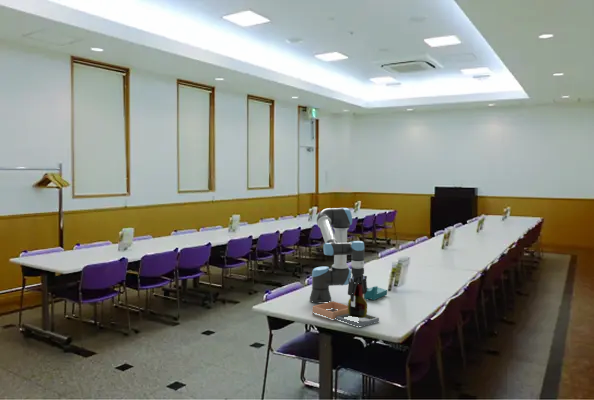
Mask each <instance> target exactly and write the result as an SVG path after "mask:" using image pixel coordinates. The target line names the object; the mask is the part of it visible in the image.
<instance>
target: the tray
mask: <svg viewBox="0 0 594 400" xmlns="http://www.w3.org/2000/svg"><path fill="white" fill-rule="evenodd" d="M348 316H350V315H349V313H347V314H344V315H340V316H336V319H338V320H341V321H344V322H347V323H349V324H352V325H355V326H358V327H359V326H363V327H365V326H364V325H367V326H369V325H368V324H370V325H372V324H371V323H373V324H375V323H374V322H377V323H379V322H380V317H378V316H375V315H373V314H372V315H371V314H368V313H367V314H366V317H364V318H359V321H358V322H359V323H357V322H354V321H350V320H347V319H344V317H348ZM378 321H379V322H378Z"/></svg>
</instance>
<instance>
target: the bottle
mask: <svg viewBox="0 0 594 400" xmlns="http://www.w3.org/2000/svg"><path fill="white" fill-rule="evenodd" d="M354 296H355V307H352V306H351V301H350V298H349V299H348V302H347V306H348V313H349V315H350V316H352V317H358V318H364V317H366V314H368V303H367V300H366V299H364V298H363V294H362V284H359V283H358V285H357V286H356V290H355V294H354Z"/></svg>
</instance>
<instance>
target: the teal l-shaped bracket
mask: <svg viewBox="0 0 594 400" xmlns="http://www.w3.org/2000/svg"><path fill="white" fill-rule="evenodd" d="M387 295H388V289H385V288H380V287H378V285H374V286H372V287H369V288H368V287H367V292H366V294H365V298H364V299H365V300H366V299H368V300H373V301H376V300H377V299H379V298H383V297H385V296H387Z"/></svg>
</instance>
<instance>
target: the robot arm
mask: <svg viewBox="0 0 594 400" xmlns="http://www.w3.org/2000/svg"><path fill="white" fill-rule="evenodd" d="M316 223H317V227H318V228H320V232H321V234H322V235H321V236H322V237H323V241H324V244H323V248H322V249H323V254H324V255H325V256H333V264H332V265H331V268H330V267H329V266H323V265H322V266H318V267H314V268H313V269H312V271H311V293H310V295H309V302H310V301H313V302H329V301H331V302H332V296H331V292H330V286H331V287H332V286H347V285H348V287H347V288H348V289H347V295H348V296H349V299H350V301H351V306H352V307H355V296H354V294H355V290H356V286H357V285H358V284H362V294H363V298H365V294H366V292H367V288H368V283H367V278H368V276H367V275H364V274H365V242H364V241H362V240H353V241H348V230H349V229H350V226H351V225H352V224H353V214H352V212H351V210H350V208H347V207H332V208H331V207H329V208H328V207H327V208H324V209H321V211H320V212H318V215H317V217H316ZM348 255H349V256H350V255H351V259H350V260H351V262H350V263H351V266H350V267H351V268H350V267H349V265H348V264H347V256H348ZM313 302H312V303H313Z"/></svg>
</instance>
